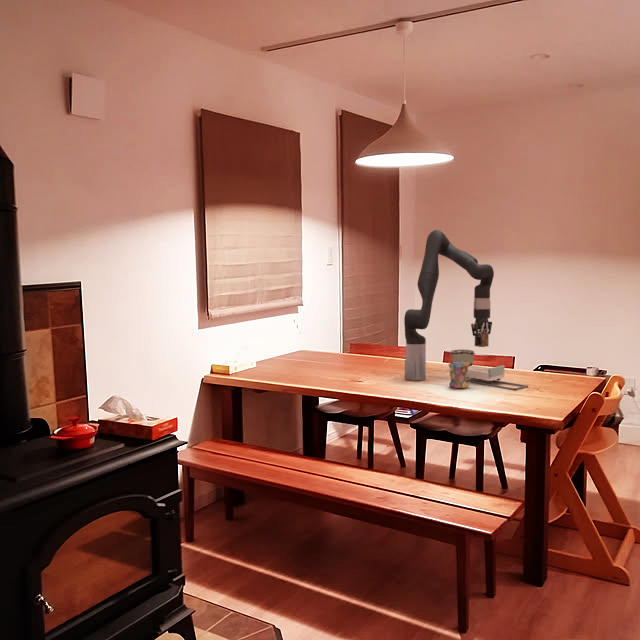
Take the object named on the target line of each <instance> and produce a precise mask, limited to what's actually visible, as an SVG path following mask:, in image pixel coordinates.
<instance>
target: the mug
mask: <svg viewBox="0 0 640 640" xmlns="http://www.w3.org/2000/svg"><path fill="white" fill-rule="evenodd" d="M447 364H448V367H449V371H448V372H449V377H450V381H449V384H448V386H449V387H450V388H454V389H465V388H468V387H469V382H467V380H468V378H467V370H468V367H469V365H470V364H469V363H464V362H452V361H451V362H448V363H447Z"/></svg>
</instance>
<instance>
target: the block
mask: <svg viewBox="0 0 640 640" xmlns="http://www.w3.org/2000/svg"><path fill="white" fill-rule="evenodd" d="M478 334H479V332H478ZM489 335H490V334H489V333H485V332H484V333H481V345H476V337H475V336H474V347H479V348H485V347H489V338H490V337H489Z"/></svg>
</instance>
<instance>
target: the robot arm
mask: <svg viewBox="0 0 640 640" xmlns="http://www.w3.org/2000/svg"><path fill="white" fill-rule="evenodd" d="M439 255H440V256H443V257H445V258H447V259H449V260H451V261H452V262H454V263H455V264H456V265H458V266H459V267H461V268H462V269H464V270H465V271H466V272H467V273H468V274H469V276H470V277H471V278H472V279H474V280H477V281H480V282H479V283H478V284H477V285H476V286H474V297H473V318H474V319H475V322H474V323H471V324H470V326H471V332H472V333H471V334H472V336H473V337H474V338H475V337H476V345H481V333H489V335H491V334H492V333H491V331H492V326H493V322H492V321H489V319H490V318H491V288H492V284H493V280H494V275H495V271H494V268H493V266H492V265H490V264H479V261H478V259H477V258H476V257H474V256H473V255H472V254H470V253H468V252H466V251H465V250H461V249H459V248H457V247H456V246H454V244H452V242H451V241H450V240H449V238H448V237H447V235H445V233H444V232H443V231H442V230H440V229H434V230H432V231H430V232H429V234H428V235H427V237H426V242H425V249H424V255H423V260H422V265H421V268H420V271H419V274H418V275H419V276H418V279H417V288H418V292H419V294H420V297H421V300H422V304H421V308H420V309H415V308H414V309H408V310H406V311H405V313H404V318H403V319H404V320H403V322H404V337H405V359H404V380H409V381H412V382H413V381H414V382H415V381H424V380H426V378H427V376H426V375H427V373H426V372H427V370H426V369H427V368H426V363H427V362H426V361H427V360H426V358H427V356H426V352H427V350H426V349H427V348H426V345H427V342H426V339H427V338H426V337H425V336H424V335H422V334H420V333H419V332H418V331H417V330H426V329H427V328H428V326H429V323H430V318H431V315H432V313H431V312H432V307H433V301H434V296H435V293H436V289H437V285H438V282H439V278H440V277H439V276H440V267H439ZM478 333H479V334H478Z"/></svg>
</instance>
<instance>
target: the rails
mask: <svg viewBox="0 0 640 640" xmlns="http://www.w3.org/2000/svg"><path fill="white" fill-rule="evenodd" d="M468 379H470V378H469V377H467V383H469V382H470V384H475V383H476V385H482V386H486V385H487V386H488V387H493V388H498V389H505V390H509V391H518V390H523V389H526V388H529V385H527V384H521V383H515V382H509V381H502V380H497V379H496V380H492V383H497V382H498V383H497V384H502V385H496V384H491V383H485V382H481V381H476V380H475V381H474V380H468ZM503 384H504V385H510V386H514V387H509V386H504V385H503ZM516 386H517V387H516Z"/></svg>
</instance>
